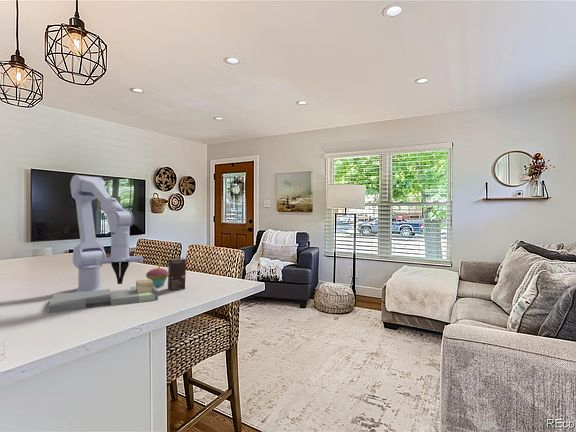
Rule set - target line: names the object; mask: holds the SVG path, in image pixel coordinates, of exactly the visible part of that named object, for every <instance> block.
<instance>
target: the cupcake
mask: <svg viewBox="0 0 576 432" xmlns="http://www.w3.org/2000/svg"><path fill="white" fill-rule="evenodd" d="M161 263H162V257H160V258H159V259H158V268H153V269H150V270H149V271H147V272H146V273H145V277H146V278H147V279H151V280H152V281H153V284H154V286H155V287H156V288H159V287H163V286H164V285H165V282H166V279H168V270H166V269H164V268H161Z"/></svg>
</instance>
